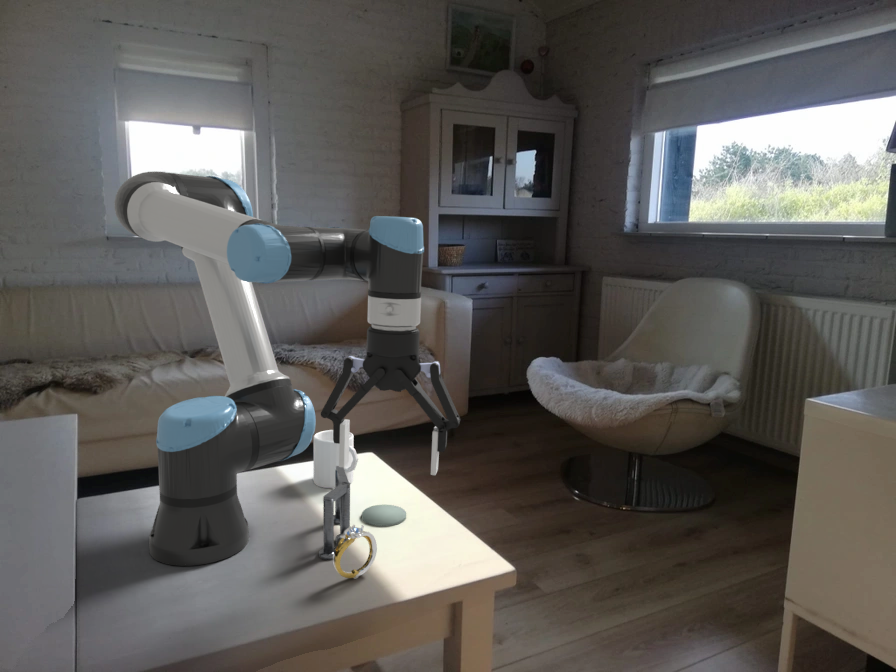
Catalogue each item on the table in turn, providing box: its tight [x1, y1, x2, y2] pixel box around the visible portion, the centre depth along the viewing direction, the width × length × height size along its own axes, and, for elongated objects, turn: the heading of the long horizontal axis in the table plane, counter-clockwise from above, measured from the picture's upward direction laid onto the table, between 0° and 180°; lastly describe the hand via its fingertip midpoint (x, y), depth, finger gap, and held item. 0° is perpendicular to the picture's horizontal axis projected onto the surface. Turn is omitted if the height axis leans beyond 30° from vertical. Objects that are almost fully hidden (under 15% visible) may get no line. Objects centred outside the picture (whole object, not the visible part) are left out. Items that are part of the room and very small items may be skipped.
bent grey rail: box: [318, 466, 351, 561], centre depth 109 cm, size 8×15×10 cm, turn 161°
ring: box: [332, 524, 378, 580], centre depth 96 cm, size 7×3×8 cm, turn 124°
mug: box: [313, 429, 359, 489], centre depth 133 cm, size 8×12×10 cm, turn 45°
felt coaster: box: [361, 504, 407, 527], centre depth 118 cm, size 8×8×1 cm
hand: (388, 468), depth 96 cm, fingers open, 13 cm apart
